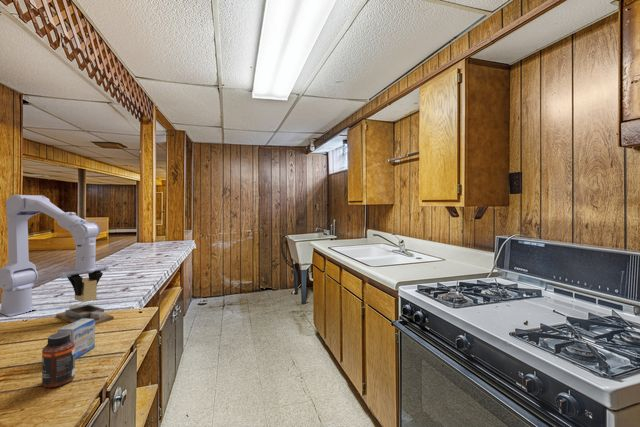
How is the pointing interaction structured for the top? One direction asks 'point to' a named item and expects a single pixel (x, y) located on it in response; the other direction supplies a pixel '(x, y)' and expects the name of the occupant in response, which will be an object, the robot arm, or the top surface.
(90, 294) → the block
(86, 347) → the medicine box
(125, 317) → the top surface
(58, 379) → the supplement bottle
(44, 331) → the top surface
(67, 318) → the brown board
